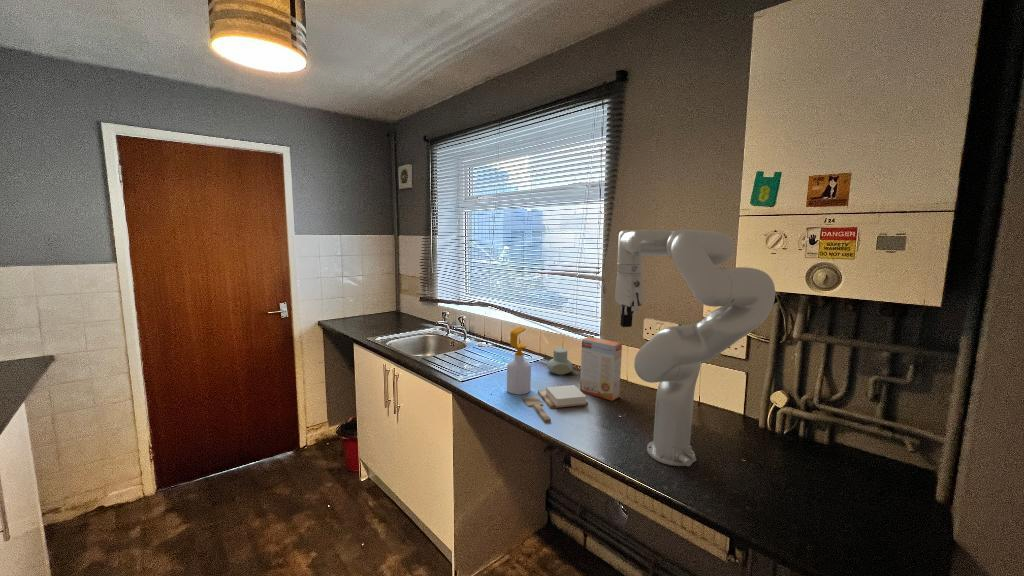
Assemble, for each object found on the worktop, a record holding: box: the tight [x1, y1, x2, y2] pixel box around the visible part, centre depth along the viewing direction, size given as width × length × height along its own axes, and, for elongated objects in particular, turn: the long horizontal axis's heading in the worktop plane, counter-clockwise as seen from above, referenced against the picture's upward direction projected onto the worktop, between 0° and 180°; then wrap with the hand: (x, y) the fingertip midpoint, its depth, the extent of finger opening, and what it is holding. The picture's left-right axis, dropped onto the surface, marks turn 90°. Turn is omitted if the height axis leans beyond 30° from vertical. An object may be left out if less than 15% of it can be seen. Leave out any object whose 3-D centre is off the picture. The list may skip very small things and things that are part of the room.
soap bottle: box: [506, 326, 532, 396], centre depth 161 cm, size 9×9×25 cm
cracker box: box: [579, 336, 623, 402], centre depth 159 cm, size 14×6×21 cm, turn 48°
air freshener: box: [546, 348, 574, 376], centre depth 183 cm, size 11×8×10 cm
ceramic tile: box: [545, 384, 587, 408], centre depth 152 cm, size 3×11×11 cm
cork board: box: [537, 389, 589, 409], centre depth 156 cm, size 14×14×1 cm
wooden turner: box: [522, 396, 552, 424], centre depth 146 cm, size 20×6×1 cm, turn 15°
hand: (626, 326), depth 136 cm, fingers closed
